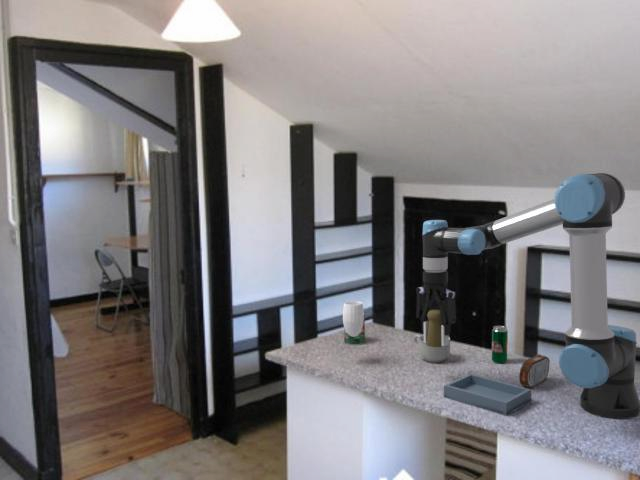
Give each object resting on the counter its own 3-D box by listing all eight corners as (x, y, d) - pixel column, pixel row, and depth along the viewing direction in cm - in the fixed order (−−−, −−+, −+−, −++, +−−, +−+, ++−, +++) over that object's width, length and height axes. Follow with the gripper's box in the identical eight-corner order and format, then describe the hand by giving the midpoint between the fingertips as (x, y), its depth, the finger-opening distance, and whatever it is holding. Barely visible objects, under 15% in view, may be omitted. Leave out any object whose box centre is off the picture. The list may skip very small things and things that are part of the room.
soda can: (488, 361, 220) (489, 327, 218) (498, 358, 223) (498, 324, 221) (500, 364, 216) (501, 330, 214) (510, 361, 219) (510, 327, 217)
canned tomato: (358, 346, 240) (358, 317, 238) (340, 343, 244) (339, 315, 242) (368, 341, 246) (368, 313, 245) (350, 338, 250) (350, 310, 249)
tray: (531, 401, 184) (531, 389, 183) (505, 415, 174) (506, 403, 173) (470, 384, 198) (470, 373, 197) (443, 396, 188) (443, 385, 188)
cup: (361, 366, 217) (360, 306, 214) (340, 364, 219) (339, 304, 216) (366, 359, 223) (366, 301, 221) (346, 358, 226) (345, 300, 223)
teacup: (456, 360, 221) (456, 338, 220) (433, 366, 215) (433, 343, 214) (428, 351, 232) (428, 329, 231) (405, 356, 226) (405, 334, 225)
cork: (445, 347, 198) (445, 312, 197) (425, 346, 199) (425, 312, 198) (446, 342, 204) (445, 308, 203) (426, 341, 205) (426, 307, 204)
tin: (541, 376, 204) (542, 351, 203) (551, 379, 202) (551, 353, 201) (517, 389, 193) (518, 362, 192) (527, 391, 191) (528, 364, 190)
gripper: (468, 271, 195) (468, 346, 197) (417, 265, 208) (418, 335, 211) (454, 274, 190) (455, 351, 192) (403, 269, 203) (404, 340, 206)
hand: (436, 343), depth 202 cm, fingers closed on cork, 6 cm apart
